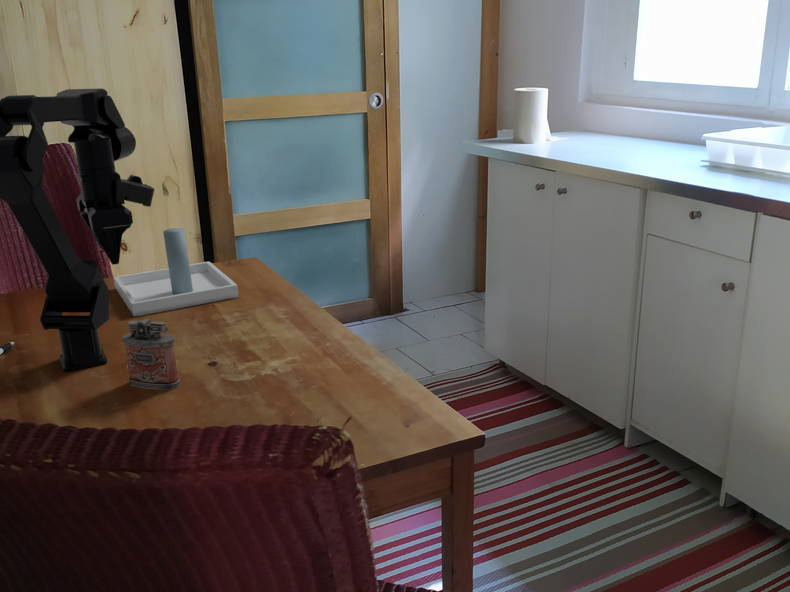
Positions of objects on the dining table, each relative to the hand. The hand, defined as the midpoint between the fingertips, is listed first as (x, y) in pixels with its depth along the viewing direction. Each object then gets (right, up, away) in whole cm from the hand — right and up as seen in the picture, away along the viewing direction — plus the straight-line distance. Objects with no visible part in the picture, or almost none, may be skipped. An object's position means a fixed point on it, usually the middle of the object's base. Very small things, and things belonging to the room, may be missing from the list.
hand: (110, 257), depth 130 cm
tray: (+5, -6, +22) cm, 24 cm away
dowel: (+6, -6, +21) cm, 23 cm away
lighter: (+13, -20, -18) cm, 30 cm away
